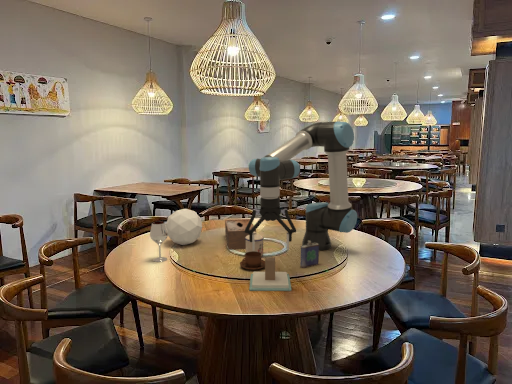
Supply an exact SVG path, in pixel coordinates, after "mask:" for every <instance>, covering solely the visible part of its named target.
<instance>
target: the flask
mask: <svg viewBox="0 0 512 384" xmlns="http://www.w3.org/2000/svg"><path fill="white" fill-rule="evenodd" d="M307 242H308V243H307V244H308V245H304V246H302V245H301V246H300V263H299V265H300V268H302V269H305V268H310V267H312V266H313V267H314V266H317V265H319V260H320V259H319V256H320V250H319V244H318V243H311V241H310V240H308V241H307Z"/></svg>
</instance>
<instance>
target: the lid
mask: <svg viewBox="0 0 512 384" xmlns="http://www.w3.org/2000/svg"><path fill="white" fill-rule="evenodd" d="M264 261H265V267H264V271H253V272H252V274H253V280H252V288H289V284H288V277H287V274H288V272H287V271H276V257H275V256H274V257H271V256H270V257H269V256H267V257H264Z"/></svg>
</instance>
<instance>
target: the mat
mask: <svg viewBox="0 0 512 384" xmlns="http://www.w3.org/2000/svg"><path fill="white" fill-rule="evenodd" d="M287 277H288V284H289V288H252V280H253V273H251V274H250V277H249V278H250V280H249V289H248V290H249V292H267V291H268V292H292V285H291V279H290V278H291V277H290V274H289V273H287Z"/></svg>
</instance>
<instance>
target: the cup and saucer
mask: <svg viewBox="0 0 512 384" xmlns="http://www.w3.org/2000/svg"><path fill="white" fill-rule="evenodd" d="M239 265H240V267H241V268H243V269H245V270H251V271H255V270H260V269H263V268H265V259H264V260H263V259H262V256H261V253H260V252H255V251H252V252H247V253H246V252H245V253H244V257H243V259H241V261H239Z"/></svg>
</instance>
